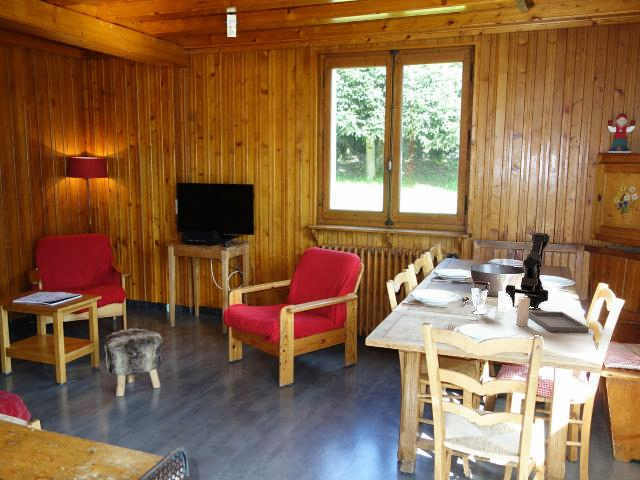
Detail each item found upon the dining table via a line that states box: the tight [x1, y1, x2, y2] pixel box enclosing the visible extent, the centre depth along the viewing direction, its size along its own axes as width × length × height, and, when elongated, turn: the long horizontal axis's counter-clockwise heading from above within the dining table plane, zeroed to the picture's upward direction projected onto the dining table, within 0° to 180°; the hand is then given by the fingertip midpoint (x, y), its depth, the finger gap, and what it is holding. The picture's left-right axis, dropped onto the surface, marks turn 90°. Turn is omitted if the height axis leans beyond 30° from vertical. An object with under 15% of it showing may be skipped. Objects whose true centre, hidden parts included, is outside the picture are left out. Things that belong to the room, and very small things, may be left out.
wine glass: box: [471, 280, 491, 316], centre depth 280 cm, size 8×8×15 cm
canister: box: [515, 296, 530, 328], centre depth 263 cm, size 5×5×13 cm
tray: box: [528, 310, 590, 334], centre depth 267 cm, size 24×18×2 cm
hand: (523, 308), depth 263 cm, fingers open, 9 cm apart
